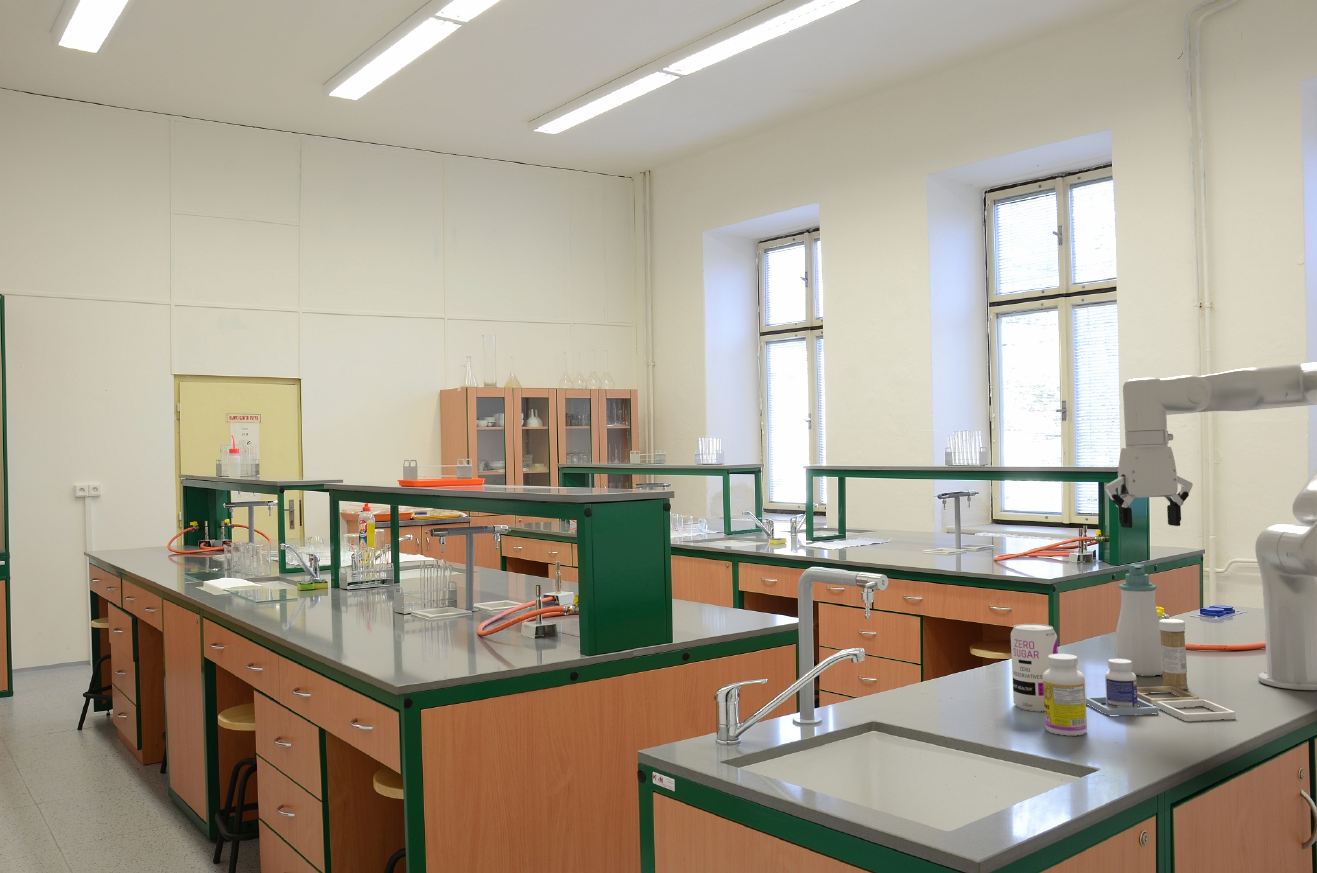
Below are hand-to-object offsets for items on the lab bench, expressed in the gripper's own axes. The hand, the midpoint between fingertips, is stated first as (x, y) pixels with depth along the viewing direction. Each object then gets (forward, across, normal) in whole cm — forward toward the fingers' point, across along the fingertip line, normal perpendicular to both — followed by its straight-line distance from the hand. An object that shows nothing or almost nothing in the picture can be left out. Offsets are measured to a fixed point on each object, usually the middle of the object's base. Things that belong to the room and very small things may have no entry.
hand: (1150, 526), depth 190 cm
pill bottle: (+32, +14, +12) cm, 37 cm away
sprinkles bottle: (+32, -4, -1) cm, 33 cm away
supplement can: (+32, +28, +8) cm, 44 cm away
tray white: (+32, +3, +17) cm, 37 cm away
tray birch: (+32, +3, +6) cm, 33 cm away
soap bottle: (+32, -5, -15) cm, 36 cm away
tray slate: (+32, +14, +12) cm, 37 cm away
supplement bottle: (+32, +30, +24) cm, 50 cm away
